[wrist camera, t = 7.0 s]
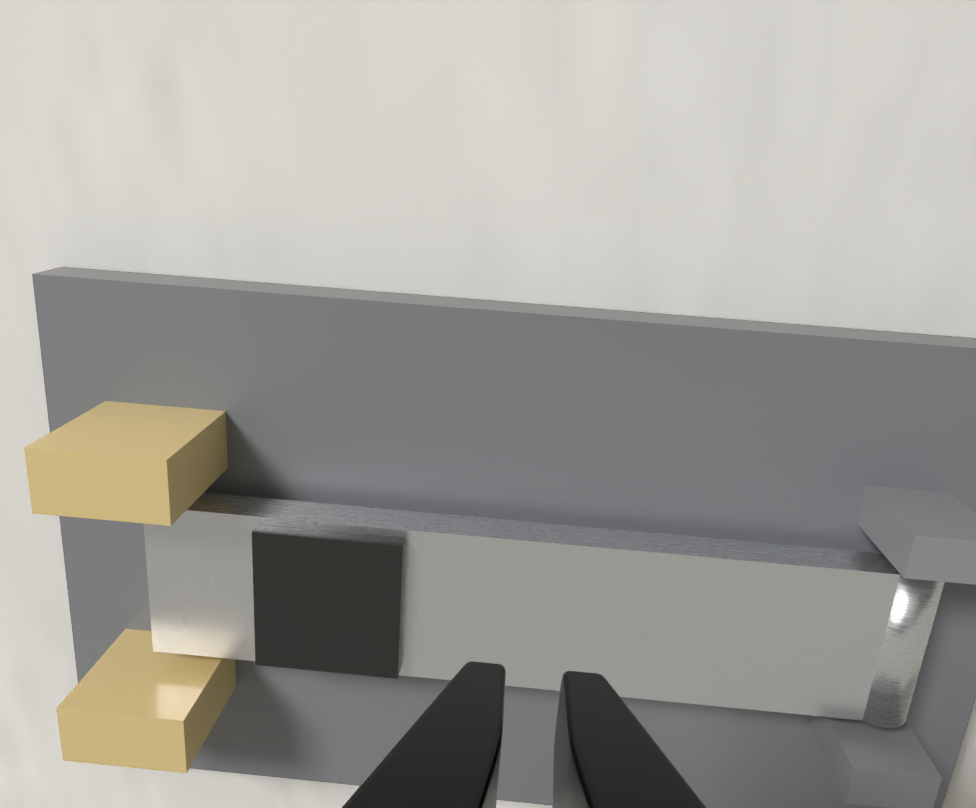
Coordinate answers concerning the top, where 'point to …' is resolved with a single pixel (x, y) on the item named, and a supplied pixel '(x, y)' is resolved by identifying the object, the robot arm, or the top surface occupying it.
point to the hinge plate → (493, 502)
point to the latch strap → (540, 605)
